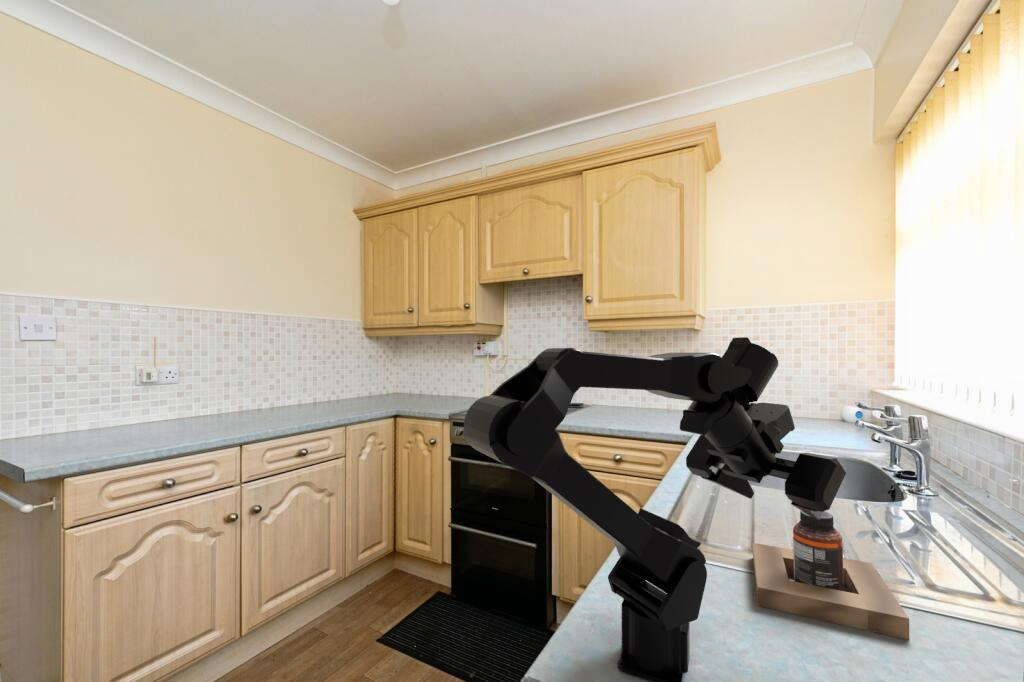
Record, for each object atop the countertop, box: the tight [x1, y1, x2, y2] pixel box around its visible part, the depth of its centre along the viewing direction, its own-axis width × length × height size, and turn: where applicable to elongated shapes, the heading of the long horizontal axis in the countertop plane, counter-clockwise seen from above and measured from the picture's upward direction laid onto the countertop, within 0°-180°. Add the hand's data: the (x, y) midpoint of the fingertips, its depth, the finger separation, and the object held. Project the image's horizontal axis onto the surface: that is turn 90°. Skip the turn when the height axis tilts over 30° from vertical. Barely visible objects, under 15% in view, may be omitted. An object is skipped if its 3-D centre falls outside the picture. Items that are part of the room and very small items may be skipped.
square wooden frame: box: [752, 542, 910, 640], centre depth 65 cm, size 16×16×2 cm
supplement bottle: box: [792, 510, 845, 591], centre depth 65 cm, size 6×6×11 cm
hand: (783, 505), depth 61 cm, fingers open, 9 cm apart
